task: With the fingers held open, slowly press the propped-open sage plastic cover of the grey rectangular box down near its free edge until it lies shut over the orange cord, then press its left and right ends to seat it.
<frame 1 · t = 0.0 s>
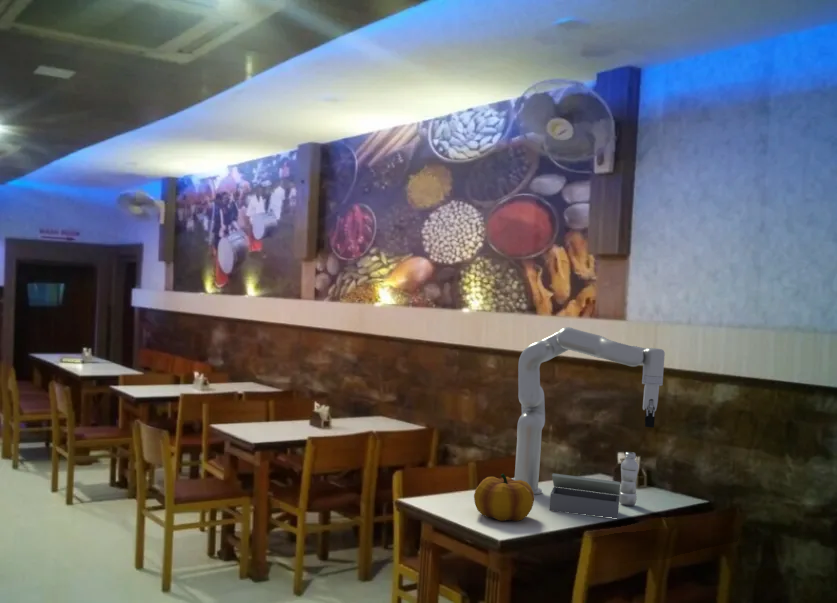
hand: (649, 425, 296), 31 cm above the table, tool pointing down, fingers open, 9 cm apart
plastic bottle: (627, 505, 297), on the table
grey rectangular box: (584, 511, 283), on the table
decorative pumpkin: (502, 517, 267), on the table
duct cover: (586, 484, 284), point 10 cm above the table, hinge at 30.0°
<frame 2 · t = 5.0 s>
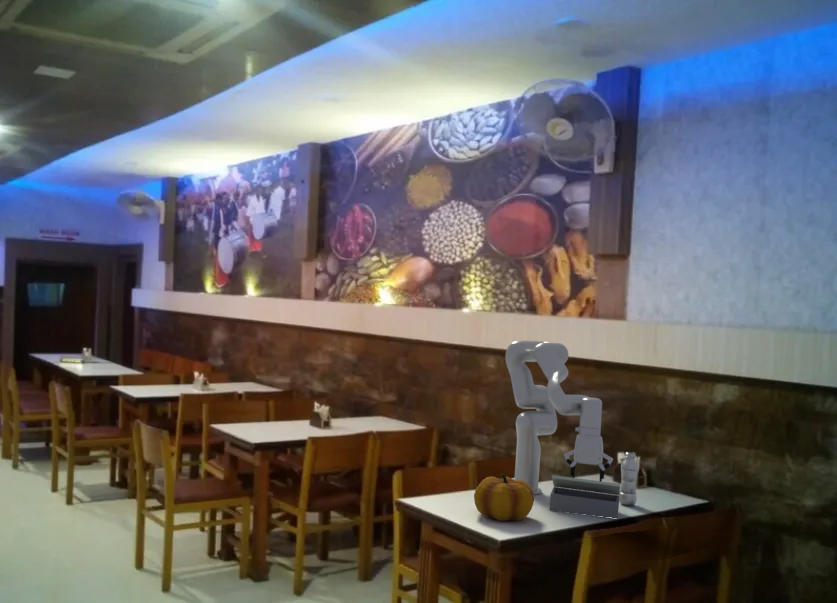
hand: (587, 479, 281), 12 cm above the table, tool pointing down, fingers open, 9 cm apart
duct cover: (586, 485, 284), point 9 cm above the table, hinge at 26.7°, touching gripper
everything else where it was.
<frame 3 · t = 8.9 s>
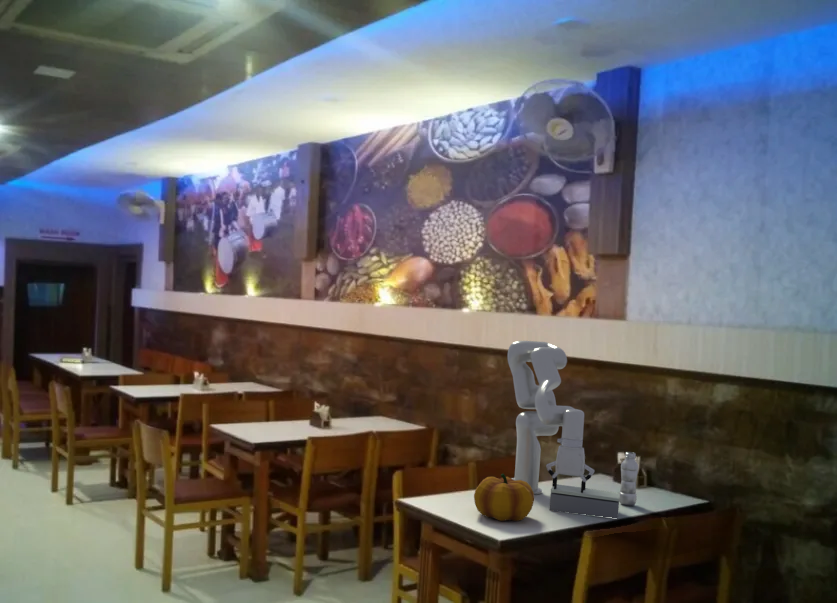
hand: (568, 490, 282), 7 cm above the table, tool pointing down
duct cover: (585, 492, 283), point 7 cm above the table, hinge at 2.0°, touching gripper
everything else where it was.
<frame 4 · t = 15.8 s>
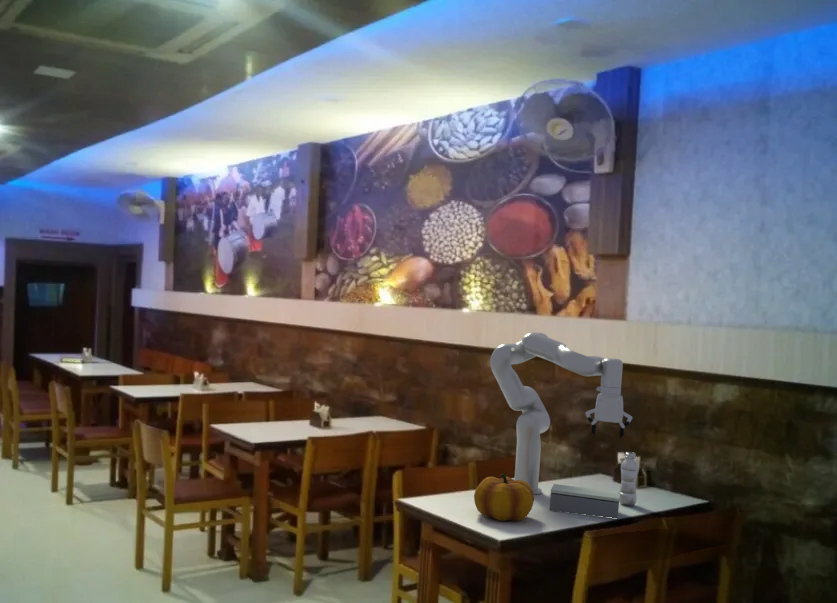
hand: (607, 436, 292), 26 cm above the table, tool pointing down, fingers open, 9 cm apart
duct cover: (585, 492, 283), point 7 cm above the table, hinge at 1.6°
everything else where it was.
at the end: duct cover at +2° (first picture: +30°); the gripper is holding nothing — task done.
